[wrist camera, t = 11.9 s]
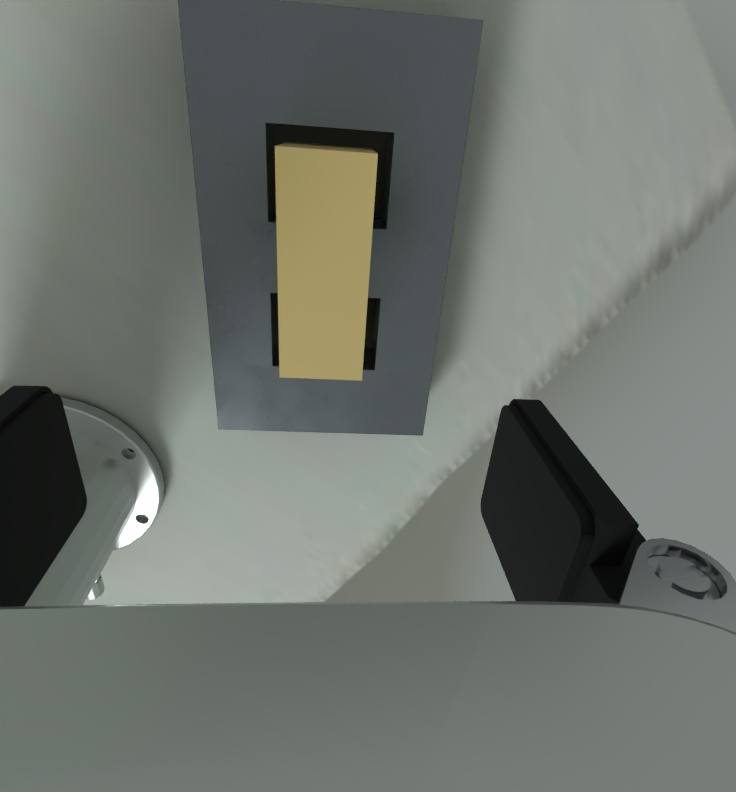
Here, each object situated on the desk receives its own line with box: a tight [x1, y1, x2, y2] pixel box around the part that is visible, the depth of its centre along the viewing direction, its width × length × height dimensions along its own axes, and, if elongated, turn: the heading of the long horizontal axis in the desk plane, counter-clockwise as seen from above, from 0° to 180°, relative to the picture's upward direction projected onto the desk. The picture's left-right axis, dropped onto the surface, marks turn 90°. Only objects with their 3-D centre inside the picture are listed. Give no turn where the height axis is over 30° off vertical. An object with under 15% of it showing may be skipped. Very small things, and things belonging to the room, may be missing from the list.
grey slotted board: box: [178, 0, 483, 435], centre depth 25 cm, size 20×12×3 cm, turn 176°
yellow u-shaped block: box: [275, 141, 378, 381], centre depth 24 cm, size 10×4×6 cm, turn 176°
